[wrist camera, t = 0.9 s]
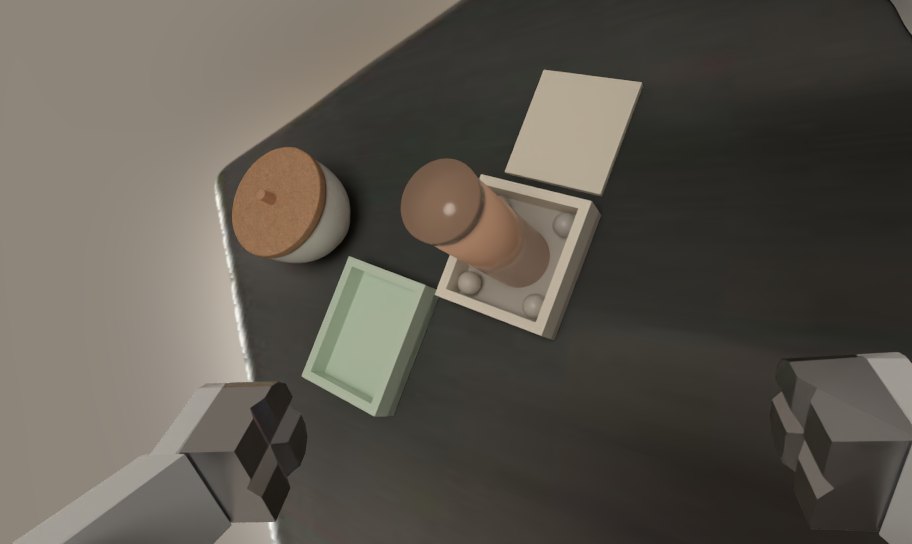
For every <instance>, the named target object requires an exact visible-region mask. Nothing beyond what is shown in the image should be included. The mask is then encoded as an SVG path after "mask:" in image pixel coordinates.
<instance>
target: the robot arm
mask: <svg viewBox="0 0 912 544" xmlns="http://www.w3.org/2000/svg"><path fill="white" fill-rule="evenodd" d="M890 1H891V2H892V3H893V4H894V6H895V8H896V9H897V11H898V13H899V15H900V17H901V19H902V21H903V23H904V25H905V26H906V28H907V29H908V31H909V32H910V33H911V34H912V0H890ZM776 380H777V383H778V385H779V387H780V389H781V392H780V393H779V394H778V395H777V396H776V397H775V398H773V399H772V405H771V414H770V418H771V428H772V435H773V439H774V442H775V446H776V449H777V451H778V454H779V456H780V459H781V461H782V462H783V463H784V464H786V465H787V466H788V467H790V468H791V469H792V470H794V471H795V477H794V482H793V490H794V492H795V494H796V497H797V499H798V501H799V504H800V506H801V508H802V511H803V513H804V515H805V518H806V520H807V522H808V525H809V527H810V529H828V530H855V531H880V533H879V535H880V536H881V537H882V538H883V539H885V540H886V541H887V542H888V543H889V544H912V363H911V362H910V361H909V360H908V358H907V357H906V356H904V355H902V354H901V353H899V352H889V353H872V354H858V355H842V356H824V357H805V358H786V359H781V361H780V362H779V364H778V367H777V372H776ZM292 397H293V396H292V395H291V393H290V391H289V389H288V387H287V385H286V384H285V383H281V382H241V383H240V382H237V383H219V384H218V383H217V384H216V383H215V384H205V385H203V386H201V387H199V388H198V389H197V390H196V392H195V393H194V394H193V396H192V397H191V399H190V400H189V401H188V403H187V404H186V406H185V407H184V408H183V410H182V411H181V412H180V414H179V415H178V417H177V418H176V419H175V421H174V422H173V424H172V425H171V426H170V428H169V429H168V431H167V432H166V433H165V435H164V436H163V437H162V439H161V440H160V441H159V443H158V444H157V446H156V447H155V449H154V450H153V451H152V453H151V454H147V455H141V456H140V457H138V458H137V459H136V460H134V461H133V462H131V463H130V464H128V465H127V466H125V467H124V468H122V469H121V470H119V471H118V472H116V473H115V474H113V475H112V476H110V477H109V478H107V479H106V480H104V481H103V482H102V483H100V484H99V485H97V486H96V487H94V488H93V489H91V490H90V491H88V492H87V493H85V494H84V495H82V496H81V497H79V498H78V499H76V500H75V501H73V502H72V503H71V504H69V505H68V506H66V507H65V508H63V509H62V510H60V511H59V512H57V513H56V514H54V515H53V516H51V517H50V518H48V519H47V520H45V521H44V522H43V523H41V524H40V525H38V526H37V527H35V528H34V529H32V530H31V531H29V532H28V533H27V534H25V535H24V536H22V537H20V538H19V539H17V540H16V541H14V542H13V543H12V544H214V543H215V541H216V540H217V539H218V538H219V537H220V536H221V535H222V534H223V533H224V532H225V531H226V530H227V529H228V528H229V527H230V526H231V523H233V522H234V523H235V522H276V519H277V517H278V515H279V513H280V510H281V508H282V506H283V504H284V501H285V499H286V497H287V495H288V492H289V490H290V485H289V482H288V478H287V477H288V476H289V475H290V474H291V473H293V472H294V471H295V470H296V469H297V468H298V467H300V465H301V462H302V460H303V457H304V455H305V452H306V444H307V431H306V425H305V422H304V420H303V418H302V416H301V414H300V413H298V412H297V411H296V410H294V409H293V408H291V407H290V406H289V405H290V402H291V400H292Z"/></svg>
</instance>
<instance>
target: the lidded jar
mask: <svg viewBox="0 0 912 544" xmlns="http://www.w3.org/2000/svg"><path fill="white" fill-rule="evenodd" d="M232 220H233V227H234V232H235V234H236V237H237V239H238V241H239V242H240V244H241V245H242V246H243V247H244V248H245V249H246V250H247V251H248V252H250V253H252V254H254V255H257V256H259V257H264V258H270V259H273V260H277V261H282V262H288V263H306V262H311V261H315V260H318V259H320V258H322V257H324V256H326V255H327V254H329V253H330V252H331V251H333V250H334V249H335V248H336V247H337V246H338V245H339V244H340V243H341V242H342V241H343V240H344V238H345V236H346V234H347V232H348V230H349V226H350V203H349V198H348V195H347V192H346V190H345V189H344V187H343V185H342V183H341V182H340V181H339V179H338V178H337V177H336V176H335V175H334V174H333V173H332V172H331V171H330V170H329V169H328V168H327V167H325V166H324V165H323V164H321V163H320V162H318V161H317V160H315V159H314V158H313V157H312V156H310V155H309V154H308V153H306V152H304V151H302V150H300V149H297V148H293V147H284V148H279V149H275V150H272V151H270V152H268V153H267V154H265V155H264V156H262V157H261V158H259V159H258V160H257V161H256V162H255V163H254V164H253V165H252V166H251V167H250V168H249V170H248V171H247V172H246V174H245V175H244V177H243V179H242V181H241V182H240V184H239V187H238V189H237V192H236V195H235V198H234V203H233V211H232Z"/></svg>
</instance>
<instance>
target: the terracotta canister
mask: <svg viewBox="0 0 912 544" xmlns="http://www.w3.org/2000/svg"><path fill="white" fill-rule="evenodd" d="M401 215H402V220H403V222H404V225H405V227H406V228H407V230H408V231H409V232H410V233H411V234H412V235H413V236H414V237H415V238H417V239H419V240H421V241H422V242H424V243H427V244H429V245H433V246H435V247H437V248H439V249H440V250H442V251H444V252H446V253H448V254H450V255H451V256H453V257H455V258H457V259H459V260H461V261H462V262H464V263H466V264H468V265H470V266H472V267H473V268H475V269H477V270H479V271H481V272H483V273H484V274H486V275H488V276H490V277H492V278H494V279H496V280H497V281H499V282H501V283H503V284H505V285H507V286H509V287H513V288H523V287H527V286H530V285H532V284H534V283H535V282H537V281H538V280H539V279H540V278H541V277H542V276H543V274H544V273H545V271H546V269H547V267H548V264H549V260H550V251H549V246H548V244H547V242H546V240H545V239H544V237H543V236H542V235H541V234H540V233H539V232H537V231H536V230H535V229H534V228H533V227H532V226H531V225H530V224H529V223H527V222H526V221H525V220H524V219H523V218H522V217H521V216H520V215H519V214H518V213H516V212H515V211H514V210H513V209H512V208H511V207H510V206H509V205H508V204H506V203H505V202H504V201H503V200H502V199H501V198H500V197H499V196H498V195H497V194H495V193H494V192H493V191H492V190H491V189H490V188H489V187H488V186H487V185H485V184H484V183H483V182H482V181H481V180H480V179H479V177H478V176H477V175H476V174H475V173H474V172H473V171H472V170H471V169H470V168H469V167H468V166H467V165H465V164H464V163H462V162H460V161H458V160H455V159H439V160H435V161H432V162H430V163H428V164H426V165H425V166H423V167H422V168H420V169H419V170H418V171H417V172H416V173H415V174H414V175H413V176H412V178H411V179H410V180H409V182H408V184H407V185H406V188H405V190H404V193H403V196H402V200H401Z"/></svg>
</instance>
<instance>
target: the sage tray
mask: <svg viewBox="0 0 912 544" xmlns="http://www.w3.org/2000/svg"><path fill="white" fill-rule="evenodd" d="M435 293H436V289H434V288H431V287H429V286H426V285H424V284H421V283H418V282H416V281H413V280H411V279H408V278H405V277H403V276H400V275H397V274H395V273H392V272H389V271H387V270H384V269H381V268H379V267H376V266H374V265H371V264H368V263H366V262H363V261H360V260H358V259H355V258H352V257H350V256H349V258H348V260H347V263H346V265H345V268H344V270H343V273H342V275H341V278H340V280H339V283H338V285H337V288H336V290H335V293H334V295H333V298H332V301H331V303H330V306H329V308H328V311H327V313H326V316H325V318H324V321H323V323H322V326H321V328H320V331H319V333H318V336H317V338H316V341H315V343H314V346H313V349H312V351H311V354H310V356H309V359H308V361H307V364H306V366H305V369H304V371H303V374H302V377H304V378H306V379H307V380H309V381H311V382H313V383H315V384H316V385H318V386H320V387H322V388H324V389H326V390H327V391H329V392H331V393H333V394H335V395H336V396H338V397H340V398H342V399H344V400H346V401H347V402H349V403H351V404H353V405H355V406H356V407H358V408H360V409H362V410H364V411H365V412H367V413H369V414H371V415H373V416H394V413H395V411H396V408H397V405H398V403H399V400H400V398H401V395H402V392H403V390H404V387H405V385H406V382H407V379H408V377H409V374H410V372H411V369H412V366H413V364H414V361H415V359H416V356H417V354H418V351H419V348H420V346H421V343H422V341H423V338H424V335H425V333H426V330H427V328H428V325H429V322H430V320H431V317H432V315H433V312H434V309H435V307H436V304H437V302H438V299H439V296H436V295H435Z"/></svg>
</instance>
